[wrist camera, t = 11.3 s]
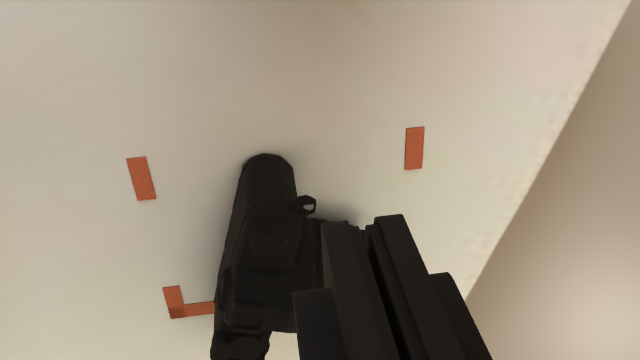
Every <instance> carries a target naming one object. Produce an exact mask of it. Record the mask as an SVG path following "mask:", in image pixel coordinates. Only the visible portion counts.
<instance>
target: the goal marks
mask: <svg viewBox="0 0 640 360" xmlns="http://www.w3.org/2000/svg"><path fill="white" fill-rule="evenodd" d="M423 143H424V127H417V128H407V129H406V153H405V170H411V169H420V168H422V160H423ZM126 160H127V164H128V168H129V171H130V175H131V178H132V182H133V185H134V189H135V192H136V196H137V200H138V201H140V200H149V199H156V195H155V191H154V187H153V183H152V180H151V176H150V172H149V168H148V164H147V160H146V157H139V158H130V159H126ZM163 292H164V296H165V299H166V303H167V306H168V310H169V313H170V317H171V319H174V318H181V317H189V316H197V315H204V314H212V313H214V312H215V304H214V301H211V302H203V303H195V304H188V305H184V304H183V300H182V296H181V292H180V288H179V286H174V287H166V288H163Z"/></svg>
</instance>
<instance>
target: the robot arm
mask: <svg viewBox="0 0 640 360" xmlns="http://www.w3.org/2000/svg"><path fill="white" fill-rule="evenodd" d="M321 241H322V257H323V273H324V288H322V289H315V290H307V291H300V292H292V294H293V304H294V313H295V322H296V331H297V340H298V348H299V357H300V360H493V359H492V358H491V356H490V353H489V351H488V349H487V347H486V345H485V343H484V341H483V339H482V337H481V335H480V333H479V331H478V329H477V327H476V325H475V323H474V320H473V318H472V317H471V315H470V312H469V310H468V308H467V306H466V304H465V302H464V300H463V298H462V296H461V294H460V292H459V290H458V288H457V286H456V284H455V281H454V280H453V278H452V276H451V275H450V274H449V273H448V272H445V273H437V274H428V271H427V269H426V267H425V265H424V262H423V260H422V258H421V255H420V253H419V251H418V249H417V246H416V244H415V242H414V239H413V237H412V235H411V233H410V230H409V228H408V226H407V223H406V221H405V219H404V217H403V215H402V214H396V215H388V216H380V217H375V218H374V224H372V225H366V227H365V245H364V241H363V238H362V235H361V232H360V229H359V227H358V226H356V227H349V223H348V221H338V222H330V223H322V224H321Z"/></svg>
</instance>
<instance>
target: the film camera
mask: <svg viewBox="0 0 640 360" xmlns="http://www.w3.org/2000/svg"><path fill="white" fill-rule="evenodd" d="M310 204H314V209H312V210H311V211H309V210H306V209H304V208H303V206H304V205H310ZM315 207H316V199H314V198H312V197H310V196H307V195H303V196H299V197H298V198H297V192H296V186H295V179H294V172H293V169H292V167H291V165H290V164H289V163H288V162H287V161H286V160H284V159H283V158H282V157H280V156H277V155H270V154H261V155H257V156H255V157H253V158H251V159H250V160H249V161H248V162H247V163H246V164H245V165H243V168H242V172H241V175H240V178H239V182H238V187H237V192H236V196H235V200H234V204H233V210H232V215H231V219H230V224H229V229H228V233H227V237H226V241H225V250H224V252H223V256H222V260H221V265H220V269H219V273H218V281H217V287H216V293H215V298H214V304H215V312H214V334H213V339H212V344H211V349H210V358H211V360H265V355H266V353H267V352H268V350H269V347H270V344H269V338H270V335H271V333H272V331H275V332H285V333H297V331H296V322H295V313H294V304H293V294H292V292H300V291H307V290H315V289H322V288H324V273H323V257H322V241H321V224H322V223H330V222H326V221H325V220H324V219H318V218H313V219H308V218H307V217H306V216H307V215H309V214H312V213H314V212H315ZM349 227H355V226H353V225H350V224H349ZM360 232H361V235H362V238H363V241H364V245H365V230H360Z"/></svg>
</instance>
